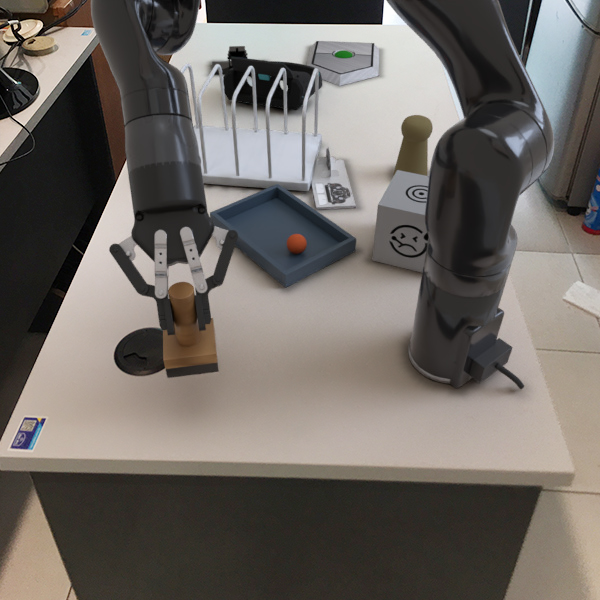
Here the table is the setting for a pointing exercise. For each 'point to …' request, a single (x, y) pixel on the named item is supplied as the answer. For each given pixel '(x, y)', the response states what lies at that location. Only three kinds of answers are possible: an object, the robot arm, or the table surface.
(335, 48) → the security device
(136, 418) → the table surface
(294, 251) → the crumb ball
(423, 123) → the olive game pawn
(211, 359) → the wooden stamp
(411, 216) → the icon cube
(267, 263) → the tray
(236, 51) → the black block
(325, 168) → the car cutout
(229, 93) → the virtual reality headset
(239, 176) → the file sorter
